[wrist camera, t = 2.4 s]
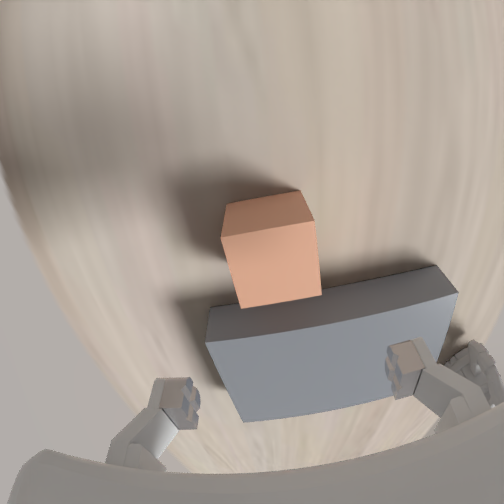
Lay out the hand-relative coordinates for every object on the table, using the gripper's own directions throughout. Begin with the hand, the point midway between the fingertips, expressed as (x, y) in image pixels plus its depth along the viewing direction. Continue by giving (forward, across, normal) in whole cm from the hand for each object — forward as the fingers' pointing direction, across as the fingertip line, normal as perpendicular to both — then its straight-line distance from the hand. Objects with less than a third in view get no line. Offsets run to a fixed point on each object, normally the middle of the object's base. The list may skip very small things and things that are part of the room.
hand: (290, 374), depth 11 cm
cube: (+12, 0, -1) cm, 12 cm away
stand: (+12, -4, +12) cm, 17 cm away
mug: (+13, -22, +21) cm, 33 cm away
